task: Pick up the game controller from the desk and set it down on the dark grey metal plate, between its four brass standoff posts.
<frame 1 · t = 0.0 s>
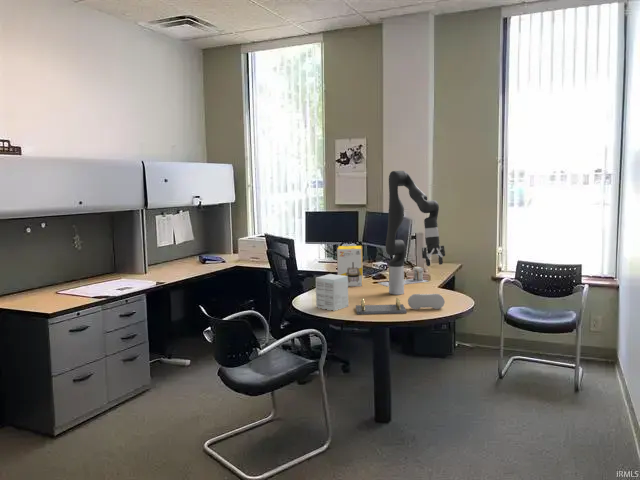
hand: (434, 265, 296), 22 cm above the table, tool pointing down, fingers open, 8 cm apart
game controller: (426, 309, 290), on the table
supplement box: (332, 307, 299), on the table
monument: (403, 283, 363), on the table
standoff plate: (380, 310, 288), on the table
packaging box: (350, 284, 363), on the table
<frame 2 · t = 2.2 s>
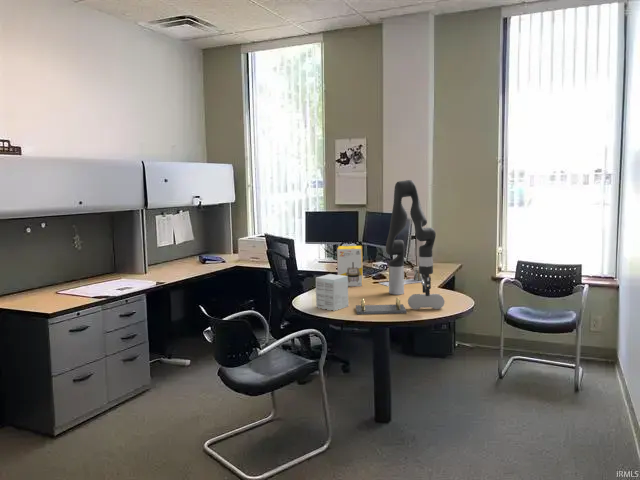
hand: (426, 294, 289), 8 cm above the table, tool pointing down, fingers open, 8 cm apart
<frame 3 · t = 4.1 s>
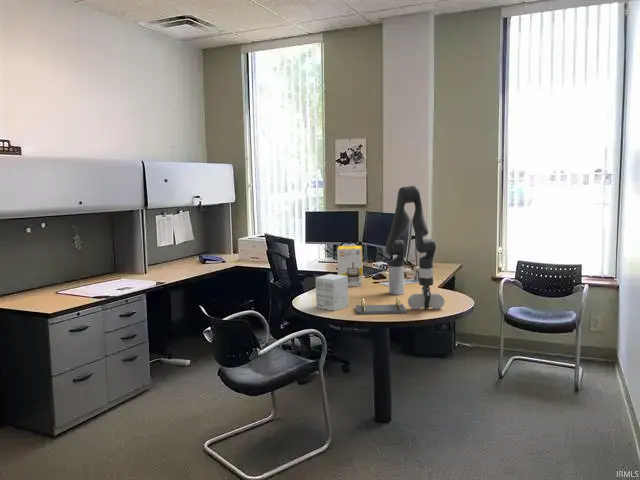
hand: (426, 307, 290), 1 cm above the table, tool pointing down, fingers closed on game controller, 2 cm apart
game controller: (426, 309, 290), on the table, touching gripper
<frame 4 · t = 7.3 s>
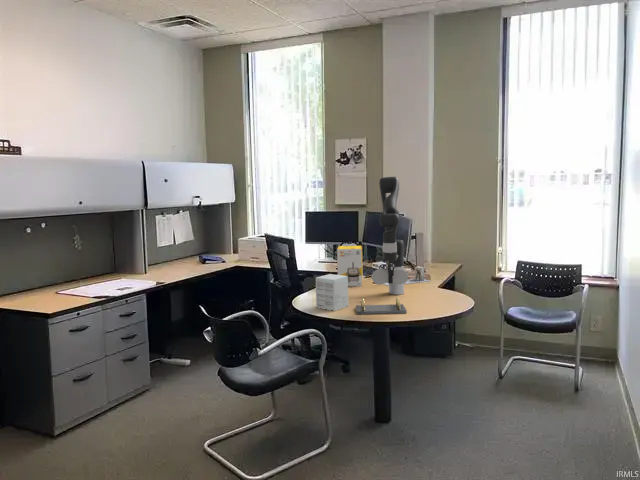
hand: (390, 282, 287), 15 cm above the table, tool pointing down, fingers closed on game controller, 2 cm apart
game controller: (390, 284, 287), point 14 cm above the table, touching gripper
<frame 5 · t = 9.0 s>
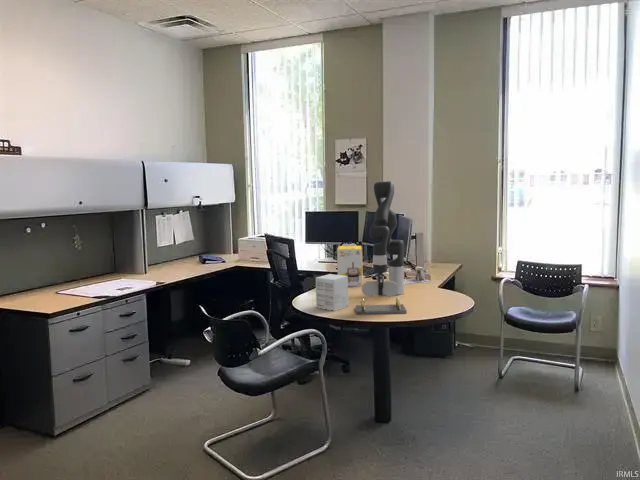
hand: (380, 294, 287), 9 cm above the table, tool pointing down, fingers closed on game controller, 2 cm apart
game controller: (380, 296, 287), point 8 cm above the table, touching gripper
when the fingers open (3 cm above the table, at t = 10.5 s): game controller drops 1 cm, resting on standoff plate.
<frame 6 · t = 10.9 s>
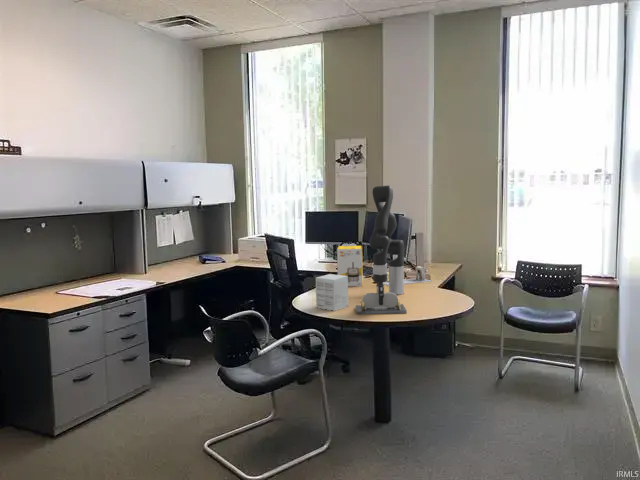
hand: (380, 303, 288), 4 cm above the table, tool pointing down, fingers open, 5 cm apart
game controller: (380, 308, 288), point 1 cm above the table, touching standoff plate
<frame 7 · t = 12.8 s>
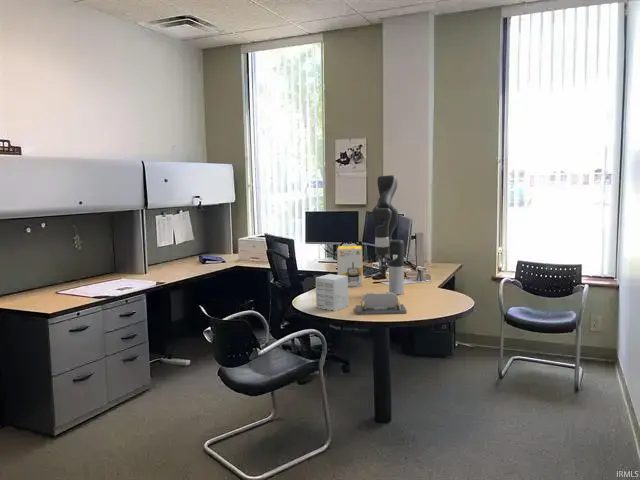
hand: (382, 274, 289), 19 cm above the table, tool pointing down, fingers open, 8 cm apart
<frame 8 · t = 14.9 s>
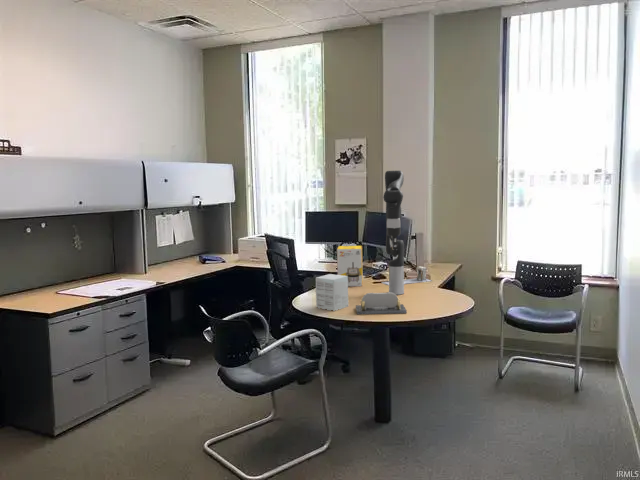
hand: (393, 255, 297), 28 cm above the table, tool pointing down, fingers open, 8 cm apart
at the end: game controller 0.1 cm off-centre on the standoff plate, point 1.3 cm above the standoff plate's base; game controller touching standoff plate; the gripper is holding nothing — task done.
